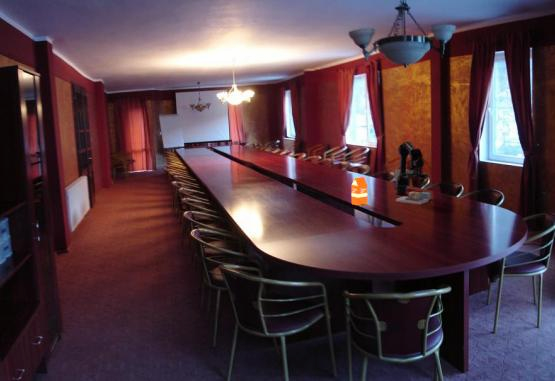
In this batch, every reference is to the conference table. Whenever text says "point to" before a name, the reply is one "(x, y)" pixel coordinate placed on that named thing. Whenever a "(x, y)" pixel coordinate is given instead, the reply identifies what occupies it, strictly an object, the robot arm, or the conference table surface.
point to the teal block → (425, 195)
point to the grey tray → (412, 200)
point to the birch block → (414, 195)
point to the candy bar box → (397, 173)
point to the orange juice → (359, 191)
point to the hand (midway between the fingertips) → (414, 186)
